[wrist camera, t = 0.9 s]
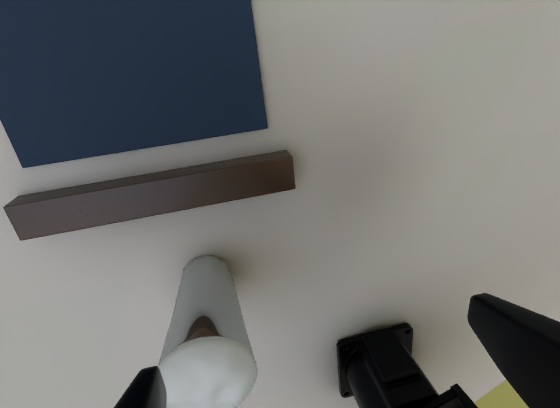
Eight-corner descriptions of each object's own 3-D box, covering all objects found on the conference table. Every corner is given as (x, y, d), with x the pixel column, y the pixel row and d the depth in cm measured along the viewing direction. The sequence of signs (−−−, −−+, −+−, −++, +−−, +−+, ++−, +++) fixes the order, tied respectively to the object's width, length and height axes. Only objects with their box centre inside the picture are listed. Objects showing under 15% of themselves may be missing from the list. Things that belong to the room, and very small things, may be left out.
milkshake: (165, 311, 23) (140, 473, 14) (175, 242, 21) (153, 379, 12) (232, 314, 24) (247, 465, 15) (246, 250, 22) (274, 378, 13)
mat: (266, 127, 19) (267, 128, 19) (25, 166, 18) (22, 168, 17) (240, -66, 16) (241, -68, 15) (-69, -40, 14) (-75, -42, 14)
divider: (289, 180, 21) (295, 189, 20) (33, 228, 19) (19, 241, 18) (286, 149, 20) (292, 156, 19) (17, 196, 18) (2, 207, 17)
